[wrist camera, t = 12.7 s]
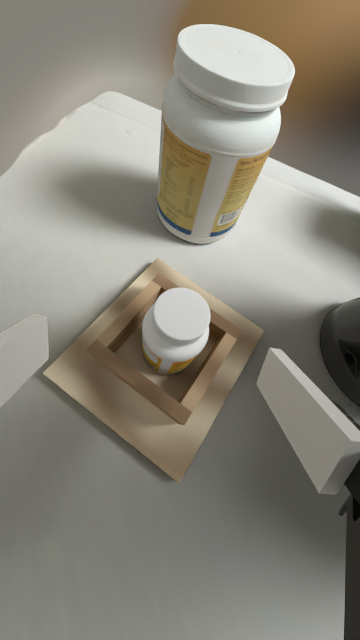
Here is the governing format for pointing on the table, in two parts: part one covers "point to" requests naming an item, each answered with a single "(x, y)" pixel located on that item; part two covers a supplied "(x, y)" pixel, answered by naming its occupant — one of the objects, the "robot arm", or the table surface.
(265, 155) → the supplement tub
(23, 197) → the table surface
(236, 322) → the birch rack
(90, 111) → the table surface
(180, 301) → the supplement bottle
